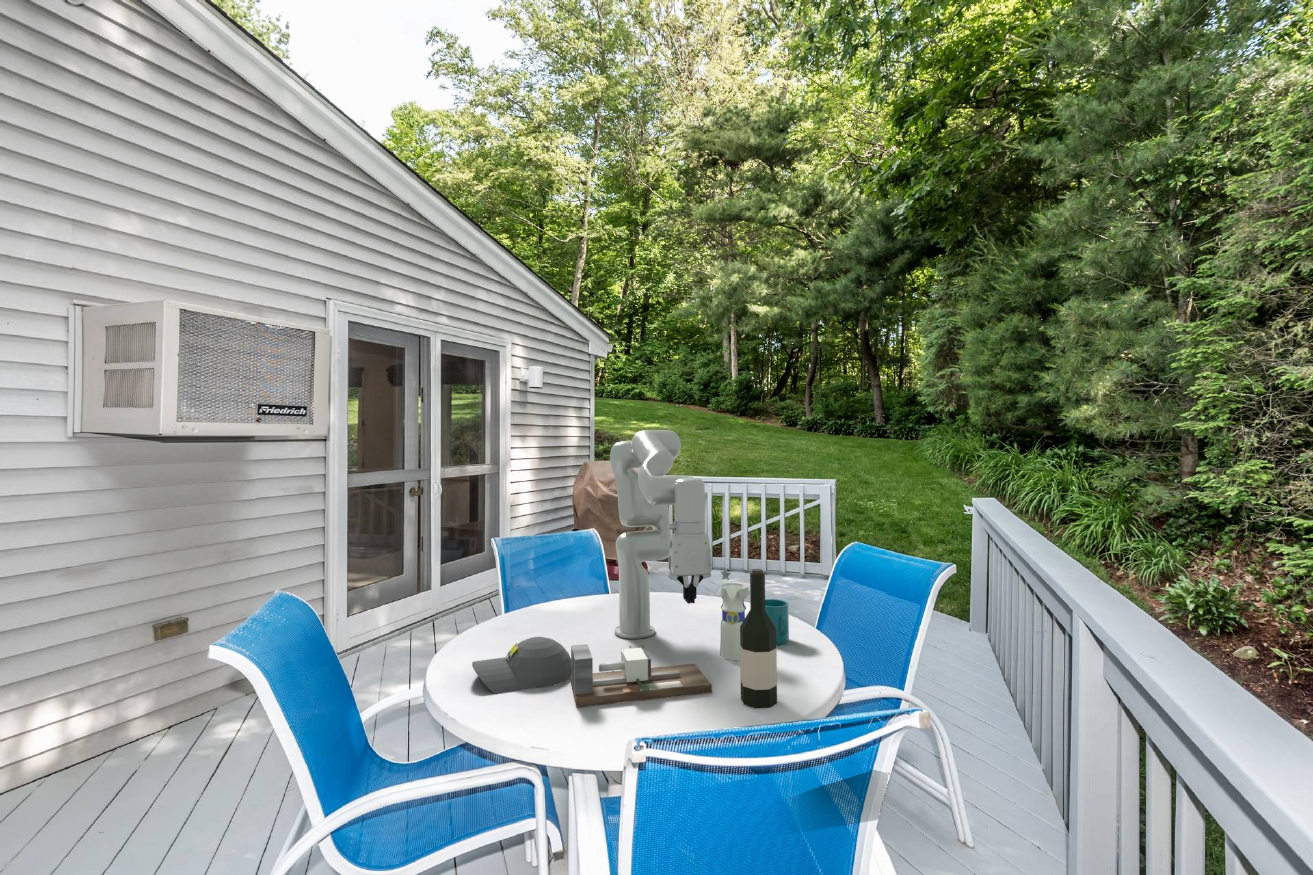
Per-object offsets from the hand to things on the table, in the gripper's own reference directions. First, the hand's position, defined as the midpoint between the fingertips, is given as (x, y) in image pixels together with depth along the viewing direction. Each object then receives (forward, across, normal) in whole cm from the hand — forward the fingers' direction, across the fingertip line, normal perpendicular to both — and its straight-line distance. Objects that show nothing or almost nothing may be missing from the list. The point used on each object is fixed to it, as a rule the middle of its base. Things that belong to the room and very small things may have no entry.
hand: (689, 601), depth 150 cm
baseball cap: (+21, -40, +14) cm, 47 cm away
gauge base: (+20, -13, -1) cm, 24 cm away
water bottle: (+20, +17, +14) cm, 30 cm away
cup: (+20, +33, +22) cm, 45 cm away
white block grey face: (+17, -17, -2) cm, 24 cm away
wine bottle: (+20, +12, -15) cm, 27 cm away
